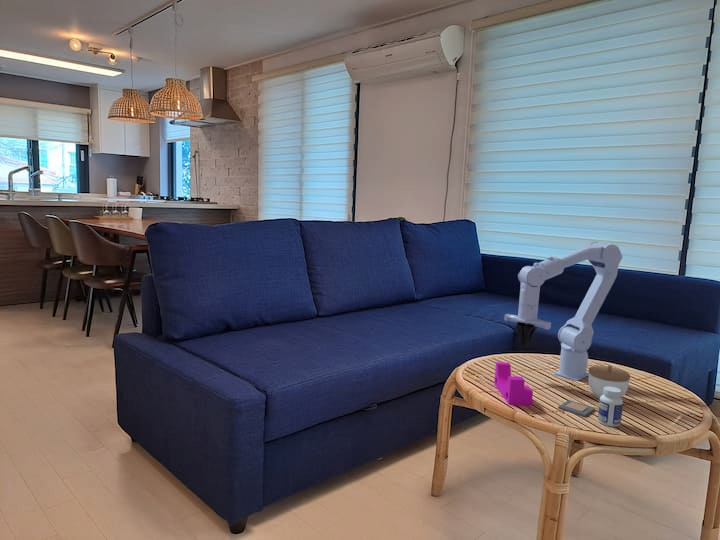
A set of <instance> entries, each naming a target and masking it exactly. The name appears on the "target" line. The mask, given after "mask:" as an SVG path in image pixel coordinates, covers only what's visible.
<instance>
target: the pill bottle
mask: <svg viewBox="0 0 720 540" xmlns="http://www.w3.org/2000/svg"><path fill="white" fill-rule="evenodd" d="M603 393H604V395H602V396H601V397H600V399H599V401H598V402H599V403H598V404H599V405H598V413H597V421H598V422H599V423H600V424H602V425H603V426H604V425H605V426H608V427H612V428H613V427H614V428H616V427H620V426H621V425H622V417H623V416H622V415H623V405H624V400H623V399H622V397H621V398H620V396H621V390H620V389H618V388H615V387H610V386H607V387H604V390H603Z"/></svg>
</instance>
